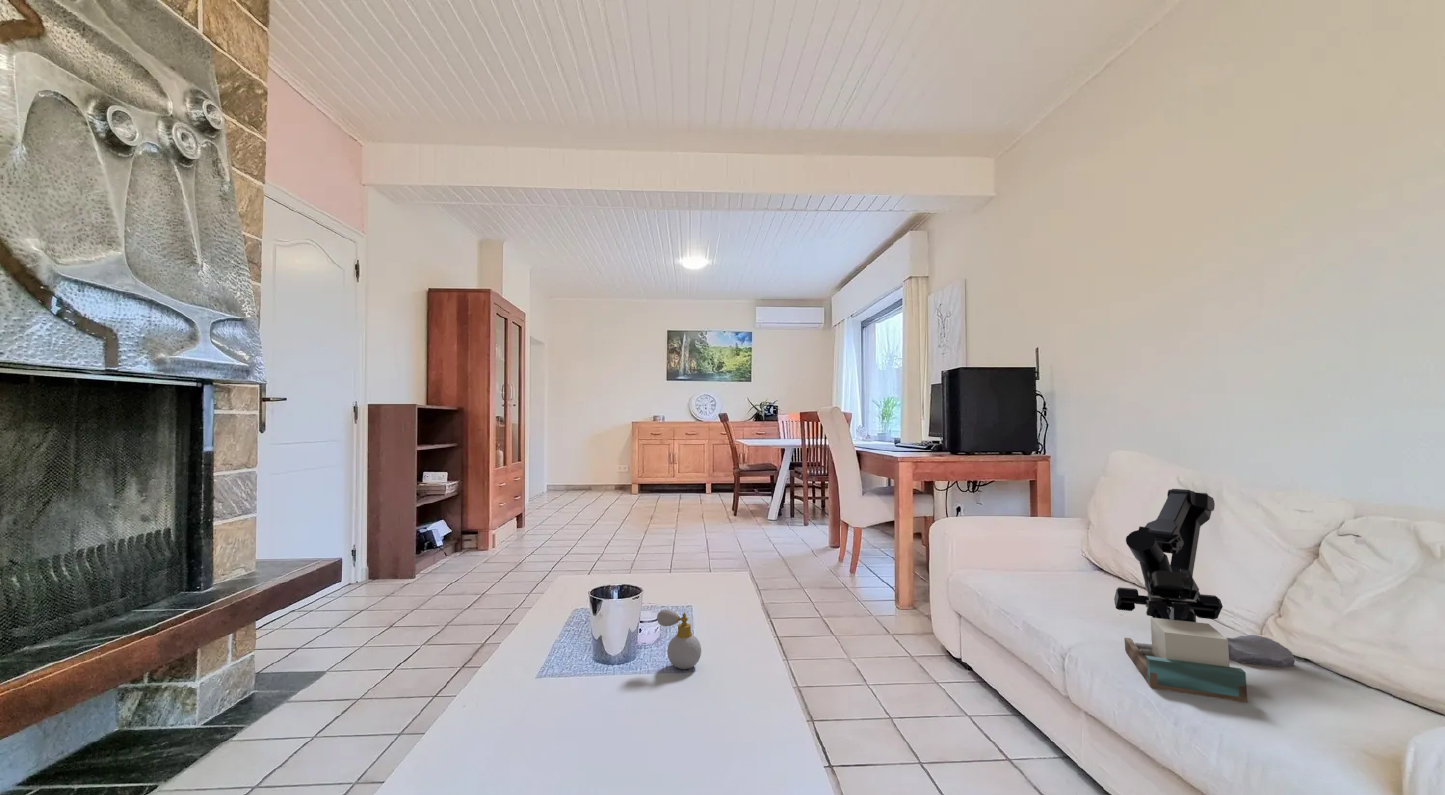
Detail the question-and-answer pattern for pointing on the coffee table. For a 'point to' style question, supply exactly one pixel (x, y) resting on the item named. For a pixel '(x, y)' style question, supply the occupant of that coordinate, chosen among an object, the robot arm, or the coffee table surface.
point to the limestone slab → (1188, 642)
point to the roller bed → (1187, 674)
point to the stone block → (1259, 651)
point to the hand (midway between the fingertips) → (1175, 639)
